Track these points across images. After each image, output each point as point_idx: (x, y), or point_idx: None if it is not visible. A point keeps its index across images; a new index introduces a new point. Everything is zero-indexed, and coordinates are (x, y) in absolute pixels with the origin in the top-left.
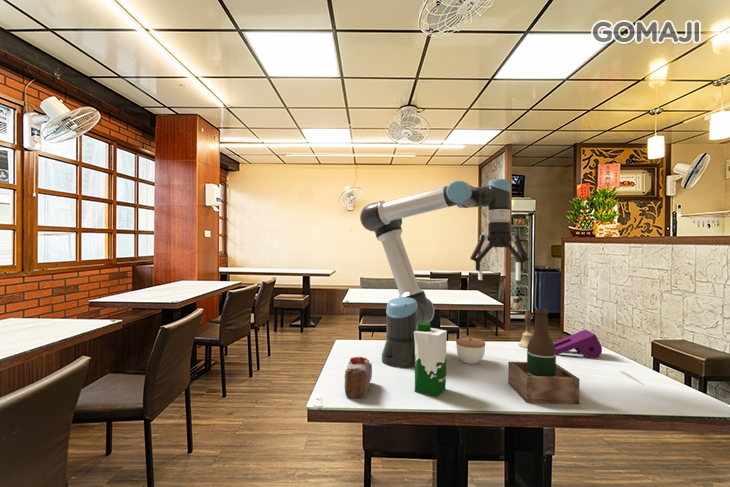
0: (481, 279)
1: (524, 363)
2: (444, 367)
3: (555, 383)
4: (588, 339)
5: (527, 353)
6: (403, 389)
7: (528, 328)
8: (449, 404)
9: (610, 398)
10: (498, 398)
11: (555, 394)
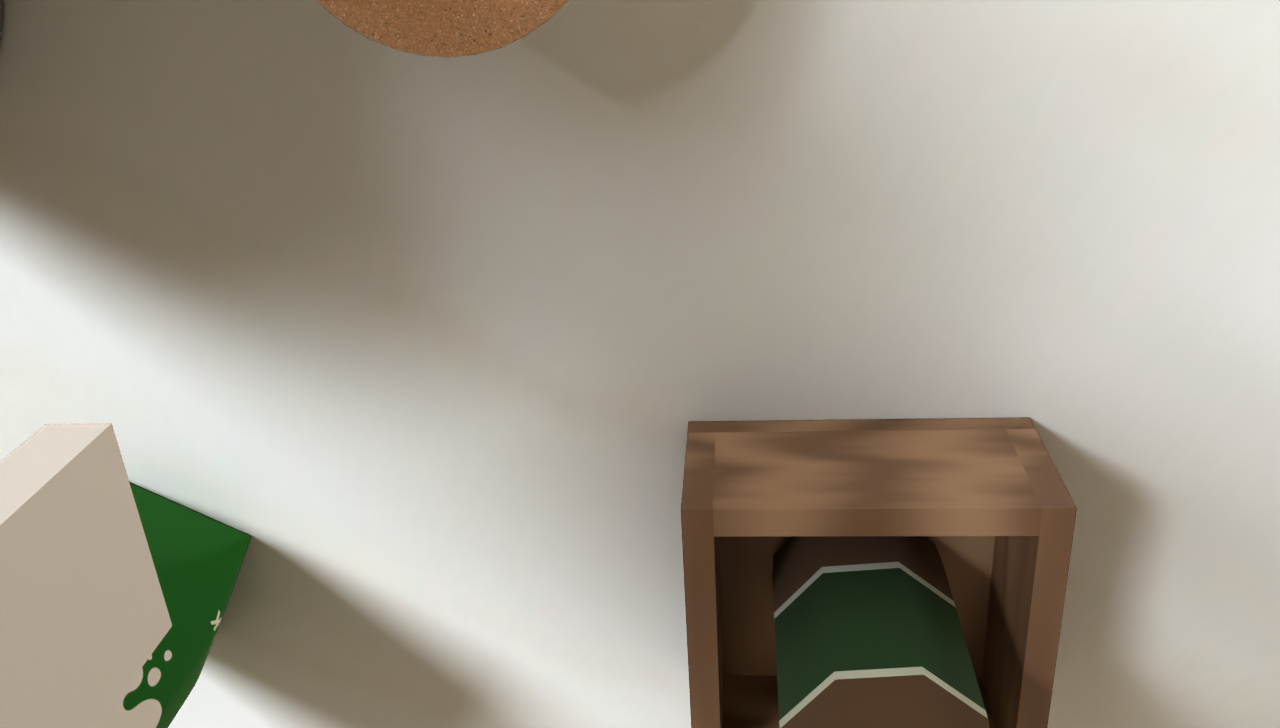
0: (138, 635)
1: (803, 535)
2: (174, 715)
3: None
4: None
5: (779, 721)
6: None
7: None
8: (280, 710)
9: (1266, 606)
10: (555, 636)
11: None
